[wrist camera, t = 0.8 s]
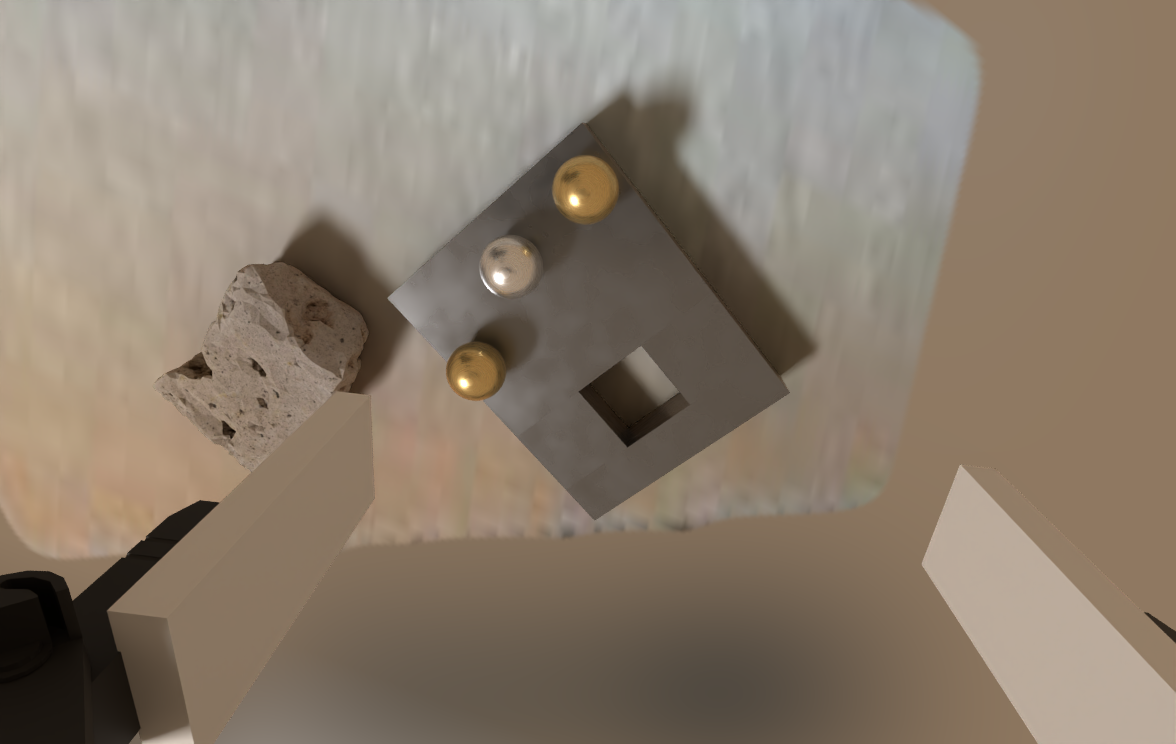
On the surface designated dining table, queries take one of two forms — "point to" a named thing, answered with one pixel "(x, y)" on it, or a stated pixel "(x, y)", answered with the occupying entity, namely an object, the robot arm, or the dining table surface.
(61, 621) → the robot arm
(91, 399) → the dining table surface
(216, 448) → the dining table surface
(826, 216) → the dining table surface
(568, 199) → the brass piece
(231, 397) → the stone
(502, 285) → the steel ball
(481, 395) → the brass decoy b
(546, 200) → the plate
